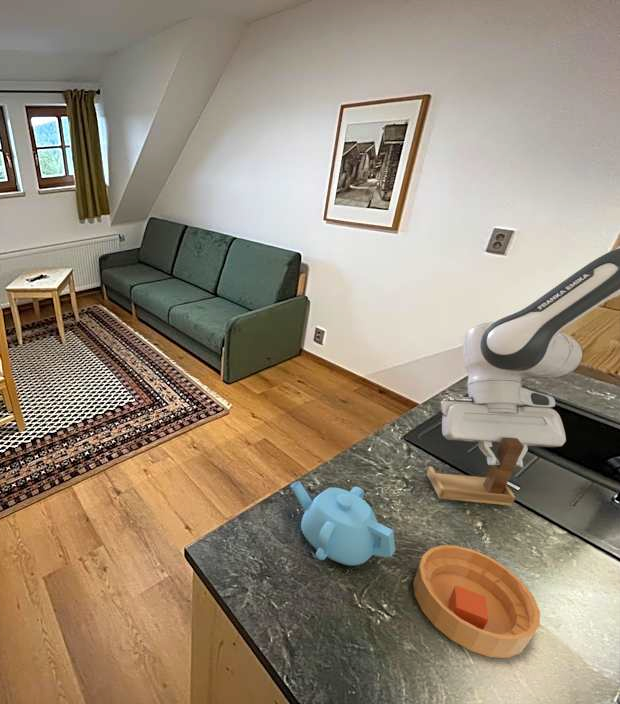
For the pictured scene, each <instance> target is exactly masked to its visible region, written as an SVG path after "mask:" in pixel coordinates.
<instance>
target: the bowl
mask: <svg viewBox="0 0 620 704" xmlns="http://www.w3.org/2000/svg"><path fill="white" fill-rule="evenodd" d="M455 585H456V586H458V587H461V588H464V589H466V590H469V591H471V592H474V593H477V594H479V595H482V596H485V597H486V603H487V611H488V622H487V624H486V625H485V627H484V629H483V630H482V629H479V628H477V627H475V626H474V625H472V624H470V623H468V622H466V621H464V620H462V619H461V618H459V617H458V616H457V615H456V614H454V613H453V612H452V611H450V610H449V598H450V596H451V594H452V591H453V589H454V587H455ZM412 586H413V591H414V597H415V599H416V601H417V603H418V605H419V607H420V610H421V611H422V613H423V614H424V615H425V616H426V617H427V619H428V620H429V621H430V623H432V625H433V626H434V627H435V628H436V629H437V630H439V632H441V633H442V634H443V635H445V636H446V637H447V638H448V639H449V640H451V641H453V642H455V643H456V644H458V645H460V646H461V647H463V648H465V649H466V650H468V651H470V652H473V653H476V654H478V655H482V656H485V657H488V658H499V659H500V658H501V659H509V658H511V657H514V656H516V655H519V654H521V653H522V652H523V651H524V650H525V648H526V647H527V645H529V643H530V641H531V639H532V638H533V637H534V635H535V634H536V632H537V630H538V629H539V627H540V625H541V624H540V623H541V612H540V611H541V610H540V609H539V606H538V604H537V602H536V598H535V596H534V595H533V593H532V592H531V591H530V590H529V589H528V587H527V585H525V583H524V582H523V581H522V580H521V578H519V577H518V576H517V575H516V574H515V573H514V572H512V571H511V569H509V568H508V567H507V566H505V565H503V564H502V563H500V562H499V561H498V560H496V559H494V558H493V557H491V556H488V555H486V554H484V553H481V551H480V552H479V551H477V550H476V549H472V548H469V547H464V546H461V545H456V544H455V545H453V544H452V545H450V544H443V545H442V544H441V545H437V546H434V547H430V548H429V549H428V550H427V551H426V552H425V553H423V555H422V557H421V558H420V561H419V564H418V567H417V570H416V573H415V576H414V578H413V581H412Z"/></svg>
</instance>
